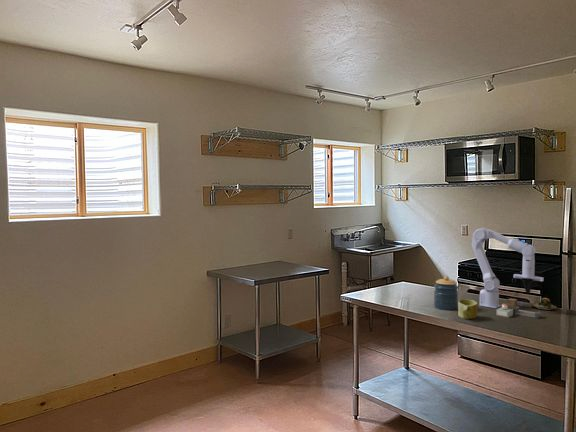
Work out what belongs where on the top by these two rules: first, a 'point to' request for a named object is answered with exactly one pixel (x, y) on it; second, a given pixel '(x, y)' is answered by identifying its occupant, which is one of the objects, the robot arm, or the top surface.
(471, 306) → the mug
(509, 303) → the carriage
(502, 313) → the grey square block
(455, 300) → the canister
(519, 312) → the rail
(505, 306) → the orange and white dome
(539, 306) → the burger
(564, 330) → the top surface
